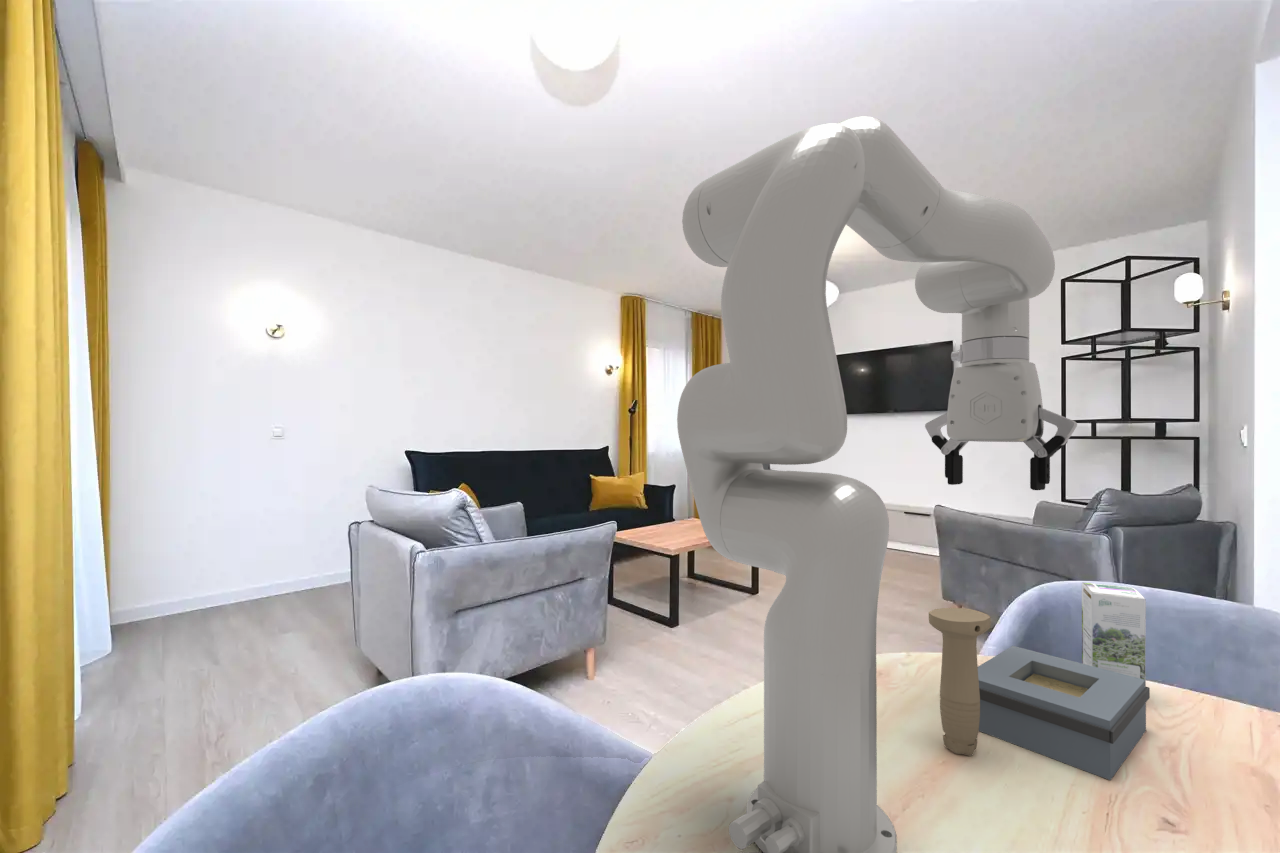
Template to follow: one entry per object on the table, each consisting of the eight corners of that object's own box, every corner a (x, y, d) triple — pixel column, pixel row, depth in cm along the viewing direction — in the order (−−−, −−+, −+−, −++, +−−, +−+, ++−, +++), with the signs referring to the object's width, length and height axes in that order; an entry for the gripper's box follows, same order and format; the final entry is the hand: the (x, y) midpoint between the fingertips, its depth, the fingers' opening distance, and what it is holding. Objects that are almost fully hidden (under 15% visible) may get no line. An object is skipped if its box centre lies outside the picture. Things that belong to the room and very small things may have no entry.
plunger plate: (1077, 718, 64) (1077, 709, 64) (1012, 697, 69) (1012, 689, 69) (1095, 699, 68) (1095, 691, 68) (1033, 681, 73) (1033, 673, 73)
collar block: (1113, 782, 57) (1112, 723, 58) (960, 724, 69) (959, 675, 69) (1149, 730, 68) (1149, 679, 68) (1011, 687, 79) (1011, 644, 79)
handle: (1001, 756, 62) (1000, 618, 62) (954, 765, 60) (953, 623, 61) (965, 734, 67) (964, 606, 67) (920, 742, 65) (919, 610, 65)
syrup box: (1132, 690, 79) (1131, 585, 79) (1147, 708, 73) (1146, 595, 74) (1081, 681, 81) (1080, 580, 82) (1092, 698, 76) (1091, 590, 76)
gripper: (914, 359, 79) (914, 483, 78) (1065, 344, 65) (1066, 493, 65) (939, 365, 83) (938, 481, 83) (1084, 351, 70) (1085, 491, 69)
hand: (994, 486), depth 74 cm, fingers open, 9 cm apart
